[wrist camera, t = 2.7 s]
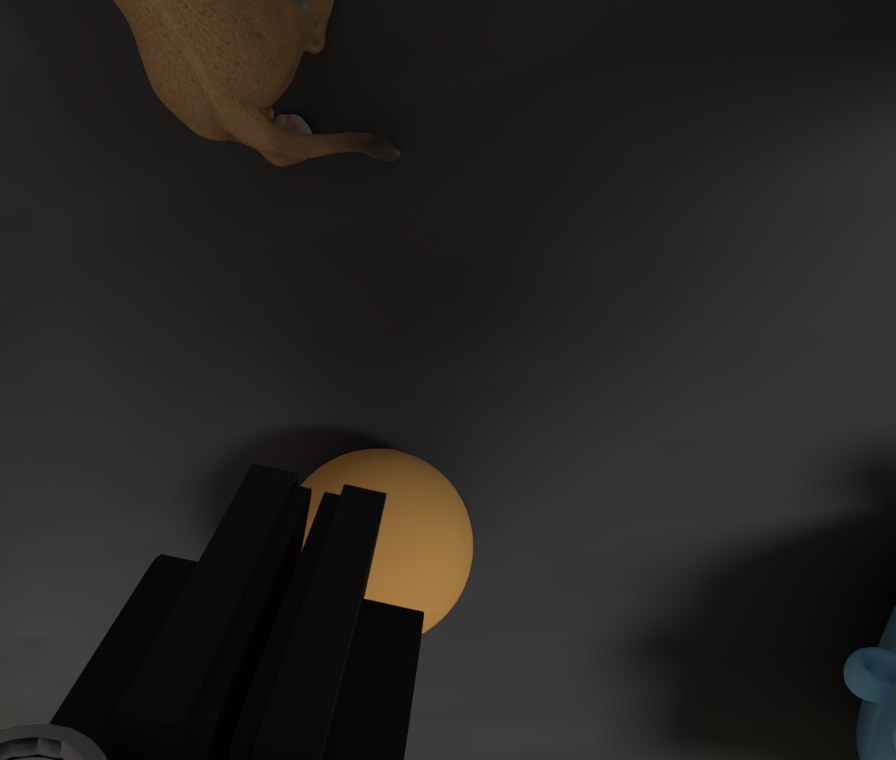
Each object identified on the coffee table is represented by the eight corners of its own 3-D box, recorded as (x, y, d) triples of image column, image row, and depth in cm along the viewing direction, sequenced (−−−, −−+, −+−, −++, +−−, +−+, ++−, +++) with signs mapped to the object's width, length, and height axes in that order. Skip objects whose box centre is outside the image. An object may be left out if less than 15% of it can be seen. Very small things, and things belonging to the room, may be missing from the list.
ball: (318, 397, 28) (267, 496, 22) (496, 438, 28) (488, 547, 22) (293, 543, 30) (242, 664, 25) (457, 581, 30) (441, 710, 25)
